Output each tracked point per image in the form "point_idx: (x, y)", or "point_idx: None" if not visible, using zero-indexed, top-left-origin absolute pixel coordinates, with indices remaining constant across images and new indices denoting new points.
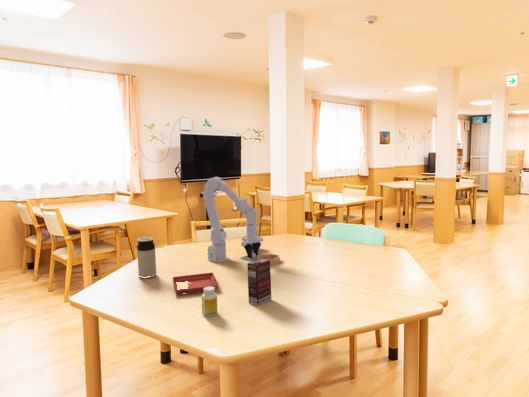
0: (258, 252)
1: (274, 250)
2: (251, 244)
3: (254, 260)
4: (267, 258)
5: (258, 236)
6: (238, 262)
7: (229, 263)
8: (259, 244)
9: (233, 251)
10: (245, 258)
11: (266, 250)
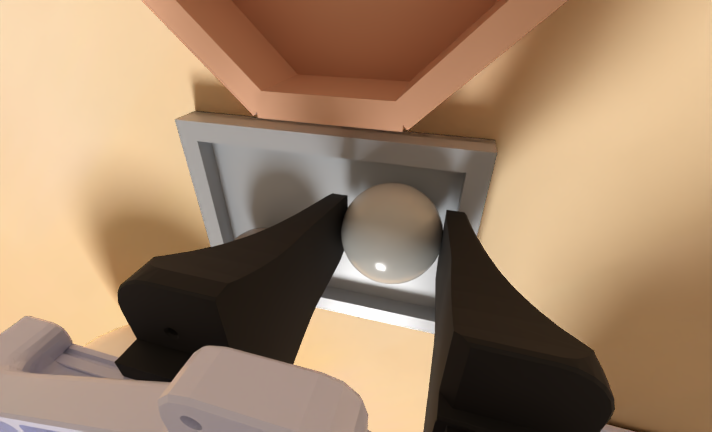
0: None
1: (34, 206)
2: None
3: (459, 144)
4: (259, 37)
5: None
6: (578, 293)
7: (665, 353)
8: (202, 276)
9: None
10: None
11: (94, 260)
